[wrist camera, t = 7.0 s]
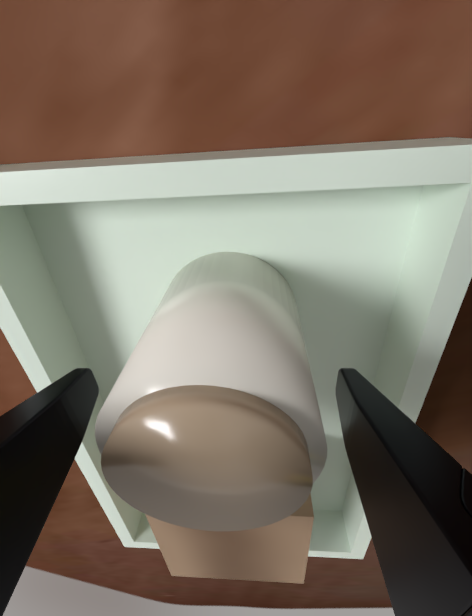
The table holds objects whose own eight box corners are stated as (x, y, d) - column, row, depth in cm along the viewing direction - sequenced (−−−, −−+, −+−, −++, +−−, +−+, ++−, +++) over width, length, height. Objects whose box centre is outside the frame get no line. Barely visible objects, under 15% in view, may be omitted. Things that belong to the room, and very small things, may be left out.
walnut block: (301, 429, 15) (314, 517, 12) (295, 501, 19) (303, 583, 15) (167, 427, 16) (143, 509, 12) (186, 497, 19) (171, 575, 16)
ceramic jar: (299, 248, 10) (350, 394, 5) (293, 363, 13) (321, 543, 7) (153, 254, 11) (39, 393, 5) (176, 363, 13) (118, 534, 8)
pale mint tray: (448, 137, 9) (524, 141, 6) (349, 504, 20) (363, 559, 18) (0, 164, 10) (-85, 177, 8) (140, 496, 21) (124, 546, 19)
